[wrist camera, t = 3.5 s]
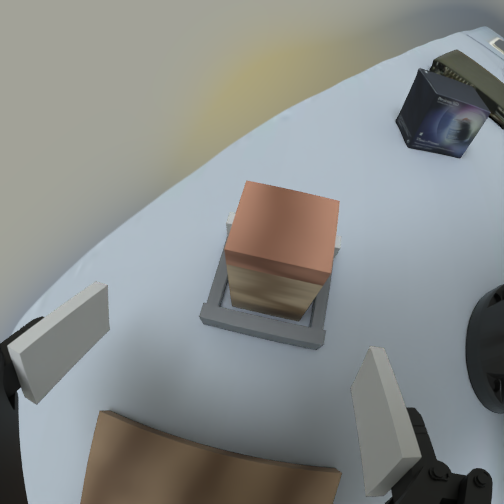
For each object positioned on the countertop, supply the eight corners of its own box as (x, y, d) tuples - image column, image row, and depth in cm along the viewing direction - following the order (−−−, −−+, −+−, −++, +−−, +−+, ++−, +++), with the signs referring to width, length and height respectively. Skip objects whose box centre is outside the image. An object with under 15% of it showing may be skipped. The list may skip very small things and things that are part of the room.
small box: (407, 150, 37) (436, 92, 27) (394, 120, 40) (416, 65, 30) (461, 160, 37) (493, 112, 28) (446, 131, 40) (472, 85, 30)
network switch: (424, 76, 49) (432, 59, 45) (442, 56, 57) (447, 42, 53) (511, 139, 43) (522, 124, 38) (510, 104, 51) (518, 92, 47)
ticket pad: (308, 270, 28) (339, 201, 19) (298, 321, 26) (331, 273, 16) (245, 256, 29) (246, 180, 19) (232, 306, 27) (224, 249, 17)
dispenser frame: (331, 254, 29) (341, 236, 26) (316, 349, 25) (326, 343, 22) (231, 231, 30) (229, 211, 27) (203, 323, 26) (197, 313, 23)
